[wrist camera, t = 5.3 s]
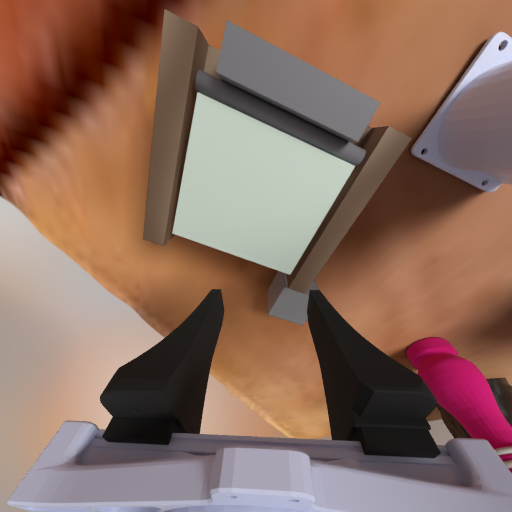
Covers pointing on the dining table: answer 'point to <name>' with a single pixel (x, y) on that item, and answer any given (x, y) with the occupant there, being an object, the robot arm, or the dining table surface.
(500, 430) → the pepper mill
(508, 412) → the owl
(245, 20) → the dining table surface
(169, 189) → the frame
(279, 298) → the grey cube
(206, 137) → the trapdoor
